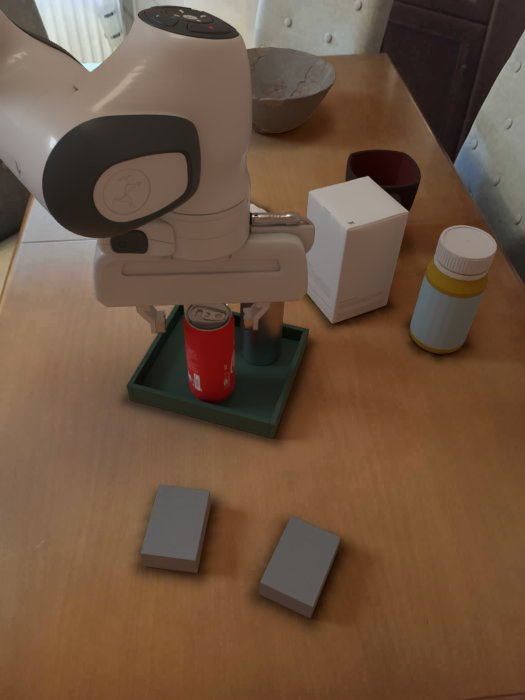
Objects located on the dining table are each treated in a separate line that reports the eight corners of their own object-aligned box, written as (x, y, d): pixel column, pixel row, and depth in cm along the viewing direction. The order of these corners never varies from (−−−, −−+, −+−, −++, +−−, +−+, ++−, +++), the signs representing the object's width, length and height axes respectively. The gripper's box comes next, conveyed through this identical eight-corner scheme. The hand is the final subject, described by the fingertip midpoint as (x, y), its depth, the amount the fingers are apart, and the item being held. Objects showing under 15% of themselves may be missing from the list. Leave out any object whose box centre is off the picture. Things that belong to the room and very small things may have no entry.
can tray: (129, 400, 68) (126, 385, 66) (180, 313, 78) (178, 298, 76) (273, 439, 65) (274, 425, 63) (307, 343, 75) (309, 328, 73)
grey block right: (258, 594, 54) (259, 582, 52) (289, 528, 58) (291, 515, 56) (310, 619, 52) (313, 607, 50) (337, 550, 57) (341, 537, 55)
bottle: (451, 364, 73) (489, 269, 62) (399, 341, 76) (426, 246, 65) (471, 331, 77) (509, 236, 66) (421, 310, 80) (449, 215, 69)
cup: (394, 219, 94) (410, 148, 85) (416, 276, 85) (436, 203, 76) (332, 220, 94) (342, 149, 85) (347, 278, 84) (360, 205, 75)
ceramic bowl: (350, 115, 118) (357, 63, 111) (293, 166, 104) (297, 110, 97) (254, 88, 125) (255, 37, 118) (189, 132, 112) (186, 77, 104)
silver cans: (180, 346, 73) (172, 270, 65) (195, 319, 77) (189, 243, 68) (274, 369, 71) (279, 294, 62) (285, 341, 74) (291, 265, 66)
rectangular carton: (389, 306, 80) (412, 211, 69) (331, 326, 77) (347, 230, 66) (352, 267, 86) (369, 173, 75) (298, 284, 83) (307, 189, 72)
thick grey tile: (143, 566, 55) (140, 553, 53) (161, 498, 60) (159, 484, 58) (197, 573, 55) (195, 560, 53) (211, 504, 60) (209, 490, 58)
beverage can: (195, 369, 71) (189, 293, 62) (238, 375, 70) (238, 300, 62) (185, 403, 67) (176, 328, 59) (230, 410, 67) (228, 335, 58)
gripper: (312, 192, 55) (300, 303, 65) (85, 196, 53) (109, 309, 63) (322, 233, 51) (308, 345, 61) (77, 239, 49) (103, 353, 59)
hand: (205, 327), depth 62 cm, fingers open, 8 cm apart
